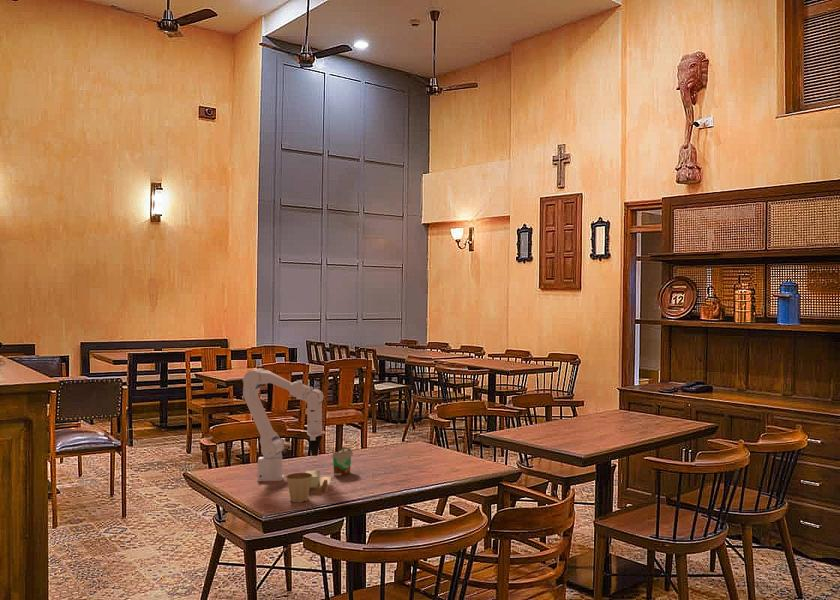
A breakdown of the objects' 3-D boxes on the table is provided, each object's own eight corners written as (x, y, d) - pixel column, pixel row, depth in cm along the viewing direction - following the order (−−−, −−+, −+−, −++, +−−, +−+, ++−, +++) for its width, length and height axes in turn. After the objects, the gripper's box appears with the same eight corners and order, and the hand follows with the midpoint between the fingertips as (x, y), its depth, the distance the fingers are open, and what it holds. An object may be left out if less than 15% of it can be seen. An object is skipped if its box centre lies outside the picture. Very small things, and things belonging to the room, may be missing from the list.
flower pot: (289, 505, 241) (288, 480, 241) (283, 498, 249) (282, 474, 249) (315, 502, 245) (315, 477, 245) (308, 495, 253) (308, 471, 253)
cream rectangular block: (303, 491, 257) (303, 476, 257) (306, 484, 266) (306, 470, 266) (317, 491, 257) (317, 476, 257) (320, 484, 267) (320, 470, 267)
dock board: (293, 494, 255) (293, 488, 255) (301, 477, 278) (301, 473, 278) (326, 493, 255) (326, 488, 255) (331, 477, 278) (331, 472, 278)
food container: (347, 479, 276) (347, 453, 276) (332, 478, 277) (332, 453, 277) (356, 471, 288) (356, 447, 288) (342, 470, 289) (342, 446, 289)
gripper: (323, 423, 266) (323, 459, 266) (326, 417, 281) (326, 451, 281) (304, 424, 266) (304, 459, 266) (309, 417, 281) (309, 451, 281)
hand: (314, 455), depth 274 cm, fingers closed
